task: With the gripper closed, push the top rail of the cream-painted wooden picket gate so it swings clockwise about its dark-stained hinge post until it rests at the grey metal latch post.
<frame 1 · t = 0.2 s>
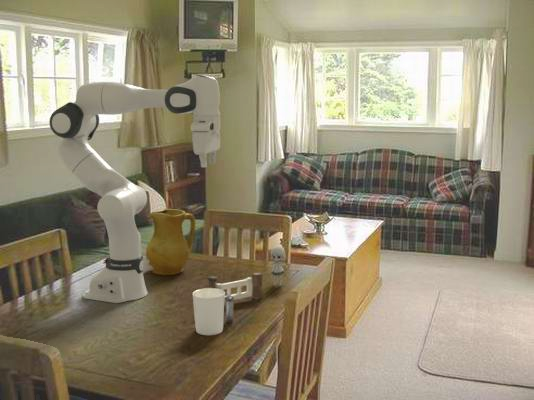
hand: (208, 165, 221), 47 cm above the table, fingers open, 8 cm apart
hinge post: (212, 308, 220), on the table
candle holder: (209, 331, 200), on the table
latch post: (229, 321, 207), on the table
fence post: (257, 298, 230), on the table
pitcher: (170, 271, 265), on the table
gate: (234, 290, 224), point 5 cm above the table, hinge at 0.0°
figurine: (278, 284, 246), on the table
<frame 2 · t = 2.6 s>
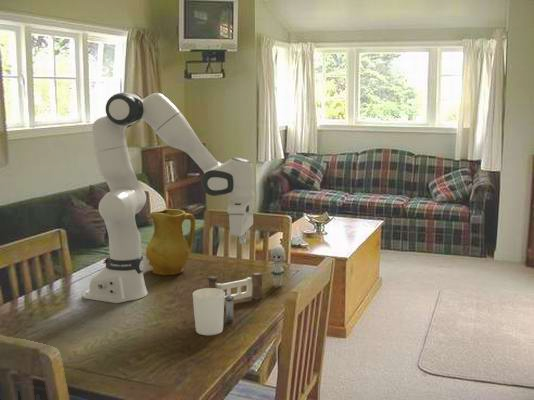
hand: (242, 243, 230), 19 cm above the table, fingers closed
nothing on the table moved.
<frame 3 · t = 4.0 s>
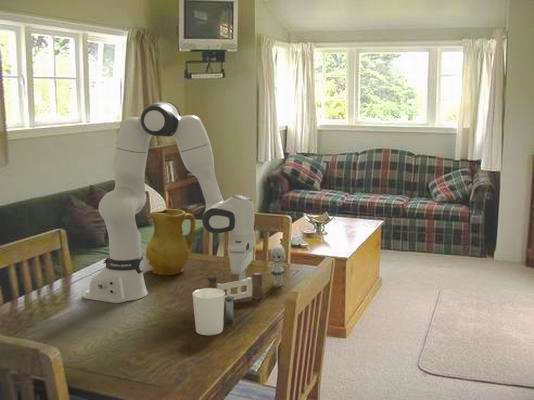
hand: (242, 279, 232), 6 cm above the table, fingers closed
nothing on the table moved.
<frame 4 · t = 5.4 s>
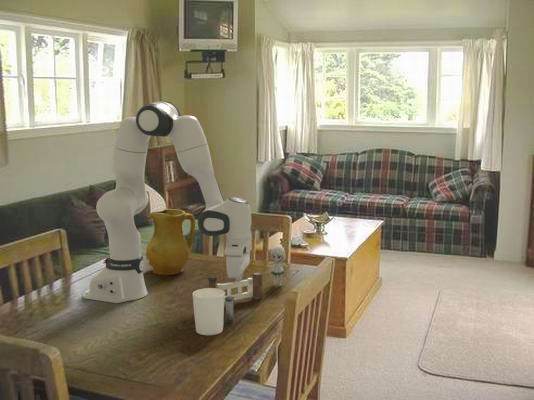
hand: (239, 283, 227), 6 cm above the table, fingers closed
gate: (234, 290, 224), point 5 cm above the table, hinge at 2.3°, touching gripper
everything else where it was.
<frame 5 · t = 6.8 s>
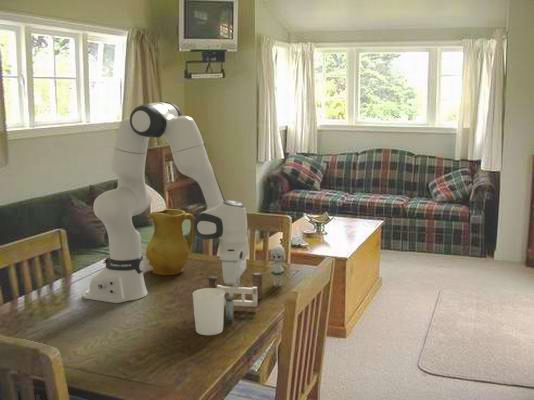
hand: (236, 289, 219), 6 cm above the table, fingers closed
gate: (237, 295, 218), point 5 cm above the table, hinge at 44.3°, touching gripper
everything else where it was.
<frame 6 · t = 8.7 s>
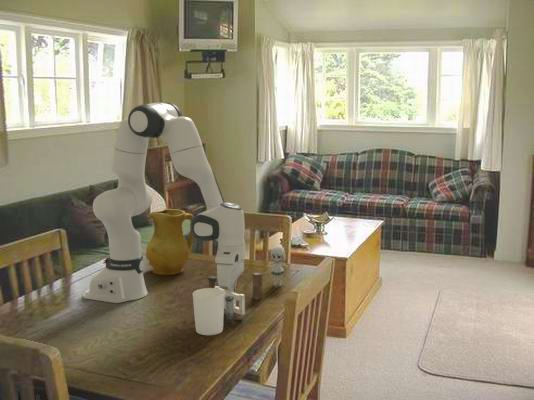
hand: (232, 292, 217), 6 cm above the table, fingers closed
gate: (229, 300, 214), point 5 cm above the table, hinge at 79.0°
everything else where it was.
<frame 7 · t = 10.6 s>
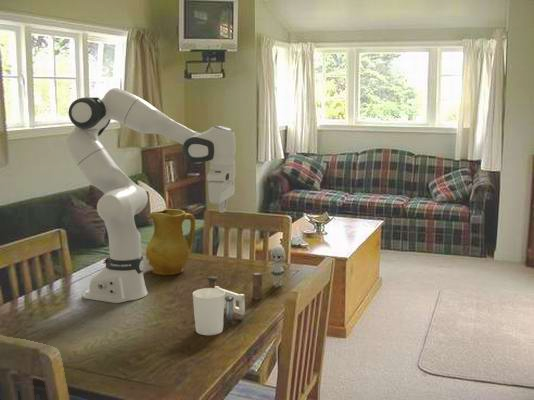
hand: (222, 211, 230), 30 cm above the table, fingers closed
nothing on the table moved.
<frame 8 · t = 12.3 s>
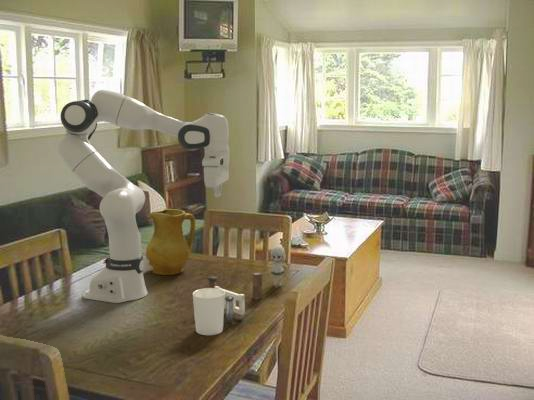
hand: (217, 196, 237), 34 cm above the table, fingers closed
nothing on the table moved.
at the end: gate at +79° (first picture: +0°) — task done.
